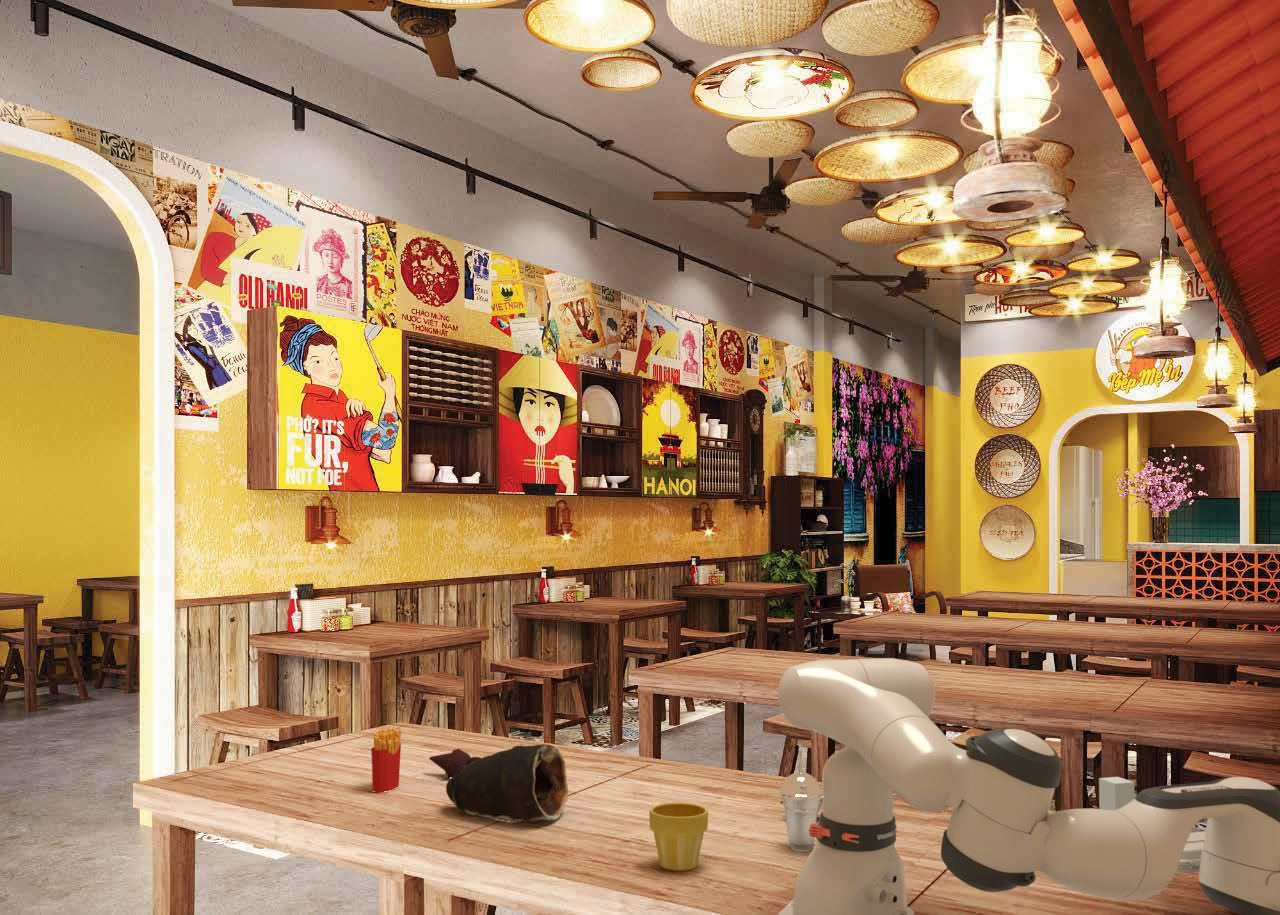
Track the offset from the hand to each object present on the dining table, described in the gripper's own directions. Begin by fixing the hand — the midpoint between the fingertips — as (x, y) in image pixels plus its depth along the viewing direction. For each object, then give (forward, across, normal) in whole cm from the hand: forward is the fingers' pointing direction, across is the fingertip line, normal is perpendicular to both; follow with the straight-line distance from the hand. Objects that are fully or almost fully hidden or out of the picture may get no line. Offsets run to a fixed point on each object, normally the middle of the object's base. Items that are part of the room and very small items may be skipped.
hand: (1171, 834), depth 174 cm
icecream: (+110, -104, -10) cm, 151 cm away
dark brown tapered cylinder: (+76, -98, -10) cm, 125 cm away
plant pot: (+37, -73, -10) cm, 82 cm away
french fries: (+104, -120, -10) cm, 159 cm away
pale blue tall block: (+12, 0, -10) cm, 16 cm away
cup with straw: (+40, -48, -10) cm, 63 cm away
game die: (+57, -39, -10) cm, 70 cm away
